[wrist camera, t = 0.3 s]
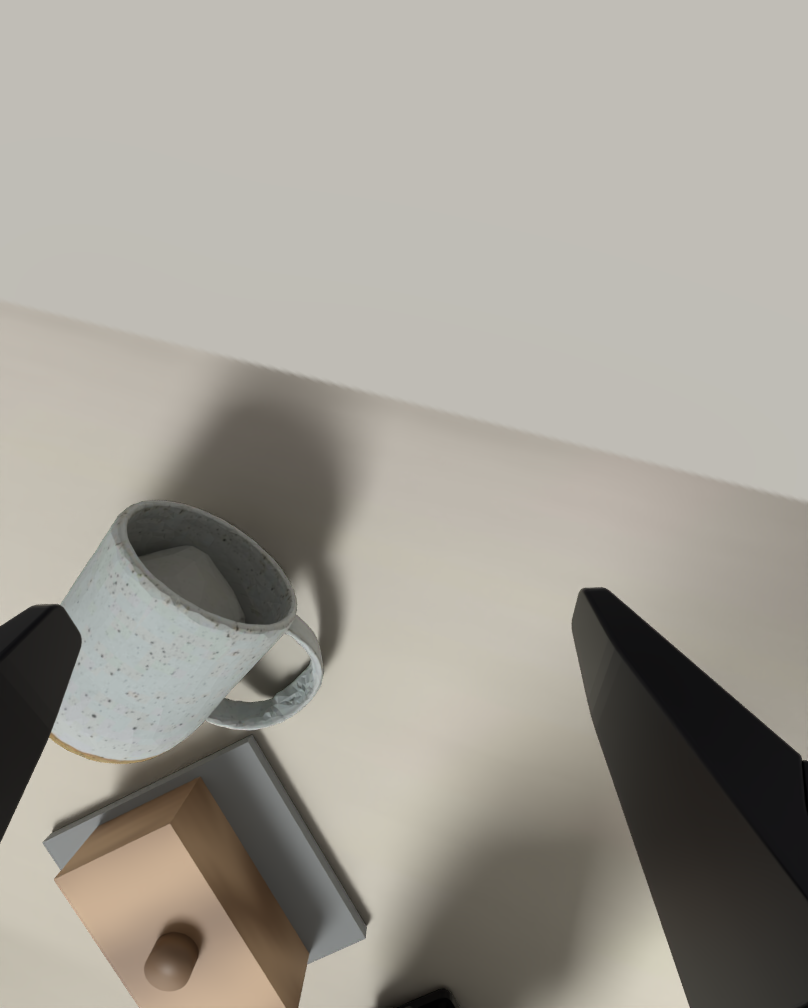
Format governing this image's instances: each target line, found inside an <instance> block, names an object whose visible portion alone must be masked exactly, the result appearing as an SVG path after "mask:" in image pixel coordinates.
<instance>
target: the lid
mask: <svg viewBox="0 0 808 1008" xmlns="http://www.w3.org/2000/svg"><path fill="white" fill-rule="evenodd" d="M54 881H55V882H56V884H57V885H58V887H59V888H60V890H61V891H62V893H63V894H64V896H65V897H66V899H67V900H68V902H69V903H70V905H71V906H72V908H73V909H74V911H75V912H76V914H77V915H78V917H79V918H80V920H81V921H82V923H83V924H84V926H85V927H86V929H87V930H88V932H89V933H90V935H91V936H92V938H93V939H94V941H95V942H96V944H97V945H98V947H99V948H100V950H101V951H102V953H103V954H104V956H105V957H106V959H107V960H108V962H109V963H110V965H111V966H112V968H113V969H114V971H115V972H116V974H117V975H118V977H119V978H120V980H121V981H122V983H123V984H124V986H125V987H126V989H127V990H128V992H129V993H130V995H131V996H132V998H133V999H134V1001H135V1002H136V1004H137V1005H138V1007H139V1008H298V1006H299V1001H300V996H301V992H302V987H303V982H304V977H305V972H306V967H307V963H308V958H309V952H308V951H307V949H306V947H305V946H304V944H303V943H302V941H301V939H300V938H299V936H298V934H297V933H296V931H295V930H294V928H293V926H292V925H291V923H290V921H289V920H288V918H287V917H286V915H285V913H284V912H283V910H282V908H281V907H280V905H279V904H278V902H277V900H276V899H275V897H274V895H273V894H272V892H271V891H270V889H269V887H268V886H267V884H266V882H265V881H264V879H263V877H262V876H261V874H260V873H259V871H258V869H257V868H256V866H255V864H254V863H253V861H252V860H251V858H250V856H249V855H248V853H247V851H246V850H245V848H244V847H243V845H242V843H241V842H240V840H239V838H238V837H237V835H236V834H235V832H234V830H233V829H232V827H231V825H230V824H229V822H228V821H227V819H226V817H225V816H224V814H223V812H222V811H221V809H220V808H219V806H218V804H217V803H216V801H215V799H214V798H213V796H212V795H211V793H210V791H209V790H208V788H207V786H206V785H205V783H204V782H203V780H202V778H201V777H198V778H196V779H194V780H192V781H190V782H188V783H186V784H183V785H181V786H179V787H177V788H175V789H173V790H171V791H169V792H167V793H165V794H163V795H161V796H159V797H157V798H155V799H153V800H151V801H149V802H147V803H145V804H143V805H140V806H138V807H136V808H134V809H132V810H130V811H128V812H126V813H124V814H122V815H120V816H118V817H116V818H114V819H112V820H110V821H108V822H106V823H104V824H102V825H99V826H98V827H97V828H96V829H95V830H94V831H93V833H92V834H91V835H90V836H89V837H88V839H87V840H86V841H85V842H84V843H83V845H82V846H81V847H80V848H79V850H78V851H77V852H76V853H75V854H74V856H73V857H72V858H71V859H70V860H69V862H68V863H67V864H66V865H65V866H64V868H63V869H62V870H61V871H60V873H59V874H58V875H57V876H56V877H55V879H54Z"/></svg>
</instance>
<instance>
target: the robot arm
mask: <svg viewBox="0 0 808 1008" xmlns="http://www.w3.org/2000/svg"><path fill="white" fill-rule="evenodd" d="M572 633H573V638H574V643H575V647H576V652H577V656H578V661H579V665H580V670H581V674H582V679H583V683H584V688H585V692H586V697H587V702H588V706H589V710H590V714H591V718H592V721H593V724H594V727H595V730H596V733H597V736H598V739H599V742H600V745H601V748H602V751H603V754H604V757H605V760H606V763H607V766H608V769H609V771H610V774H611V777H612V780H613V783H614V786H615V789H616V792H617V795H618V798H619V801H620V804H621V807H622V810H623V813H624V816H625V818H626V821H627V824H628V827H629V830H630V833H631V836H632V839H633V842H634V845H635V848H636V851H637V854H638V857H639V860H640V862H641V865H642V868H643V871H644V874H645V877H646V880H647V883H648V886H649V889H650V892H651V895H652V898H653V901H654V904H655V906H656V909H657V912H658V915H659V918H660V921H661V924H662V927H663V930H664V933H665V936H666V939H667V942H668V945H669V948H670V950H671V953H672V956H673V959H674V962H675V965H676V968H677V971H678V974H679V977H680V980H681V983H682V986H683V989H684V992H685V995H686V997H687V1000H688V1003H689V1006H690V1008H808V761H806V760H802V757H801V755H800V754H799V753H797V752H796V751H795V750H794V749H793V748H792V747H790V746H789V745H788V744H787V743H786V742H785V741H784V740H782V739H781V738H780V737H779V736H778V735H777V734H775V733H774V732H773V731H772V730H771V729H770V728H768V727H767V726H766V725H765V724H764V723H763V722H761V721H760V720H759V719H758V718H757V717H756V716H754V715H753V714H752V713H751V712H750V711H749V710H748V709H746V708H745V707H744V706H743V705H742V704H741V703H739V702H738V701H737V700H736V699H735V698H734V697H732V696H731V695H730V694H729V693H728V692H727V691H725V690H724V689H723V688H722V687H721V686H720V685H718V684H717V683H716V682H715V681H714V680H713V679H712V678H710V677H709V676H708V675H707V674H706V673H705V672H703V671H702V670H701V669H700V668H699V667H698V666H696V665H695V664H694V663H693V662H692V661H691V660H689V659H688V658H687V657H686V656H685V655H684V654H683V653H681V652H680V651H679V650H678V649H677V648H676V647H674V646H673V645H672V644H671V643H670V642H669V641H667V640H666V639H665V638H664V637H663V636H662V635H660V634H659V633H658V632H657V631H656V630H655V629H653V628H652V627H651V626H650V625H649V624H648V623H647V622H645V621H644V620H643V619H642V618H641V617H640V616H638V615H637V614H636V613H635V612H634V611H633V610H631V609H630V608H629V607H628V606H627V605H626V604H624V603H623V602H622V601H621V600H620V599H619V598H617V597H616V596H615V595H614V594H613V593H612V592H611V591H609V590H608V589H606V588H603V587H596V588H583V589H581V590H580V592H579V594H578V598H577V602H576V606H575V609H574V613H573V617H572ZM81 645H82V637H81V634H80V632H79V630H78V628H77V627H76V625H75V624H74V622H73V621H72V619H71V618H70V616H69V614H68V613H67V611H66V610H65V609H64V607H62V606H61V605H59V604H40V605H34V606H31V607H29V608H28V609H26V610H25V611H23V612H21V613H20V614H18V615H17V616H15V617H14V618H12V619H11V620H9V621H8V622H6V623H5V624H3V625H1V626H0V842H1V840H2V838H3V836H4V834H5V832H6V829H7V827H8V825H9V823H10V821H11V819H12V816H13V814H14V812H15V810H16V808H17V806H18V803H19V801H20V799H21V797H22V795H23V793H24V791H25V788H26V786H27V784H28V782H29V780H30V778H31V775H32V773H33V771H34V769H35V767H36V765H37V763H38V760H39V758H40V756H41V754H42V752H43V750H44V747H45V745H46V743H47V741H48V738H49V736H50V734H51V731H52V729H53V726H54V723H55V721H56V718H57V716H58V713H59V710H60V707H61V704H62V701H63V698H64V695H65V693H66V690H67V687H68V684H69V681H70V678H71V675H72V672H73V670H74V667H75V664H76V661H77V658H78V655H79V652H80V649H81ZM397 1008H460V1007H459V1005H458V1003H457V1002H456V1000H455V998H454V997H453V995H452V993H451V992H450V991H448V990H446V989H440V990H437V991H435V992H432V993H430V994H428V995H425V996H423V997H421V998H418V999H416V1000H414V1001H411V1002H409V1003H407V1004H404V1005H402V1006H400V1007H397Z"/></svg>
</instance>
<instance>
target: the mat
mask: <svg viewBox="0 0 808 1008" xmlns="http://www.w3.org/2000/svg"><path fill="white" fill-rule="evenodd" d="M198 777H201V778H202V780H203V782H204V783H205V785H206V786H207V788H208V790H209V791H210V793H211V795H212V796H213V798H214V799H215V801H216V803H217V804H218V806H219V808H220V809H221V811H222V812H223V814H224V816H225V817H226V819H227V821H228V822H229V824H230V825H231V827H232V829H233V830H234V832H235V834H236V835H237V837H238V838H239V840H240V842H241V843H242V845H243V847H244V848H245V850H246V851H247V853H248V855H249V856H250V858H251V860H252V861H253V863H254V864H255V866H256V868H257V869H258V871H259V873H260V874H261V876H262V877H263V879H264V881H265V882H266V884H267V886H268V887H269V889H270V891H271V892H272V894H273V895H274V897H275V899H276V900H277V902H278V904H279V905H280V907H281V908H282V910H283V912H284V913H285V915H286V917H287V918H288V920H289V921H290V923H291V925H292V926H293V928H294V930H295V931H296V933H297V934H298V936H299V938H300V939H301V941H302V943H303V944H304V946H305V947H306V949H307V951H308V952H309V958H308V963H307V964H309V963H312V962H314V961H316V960H318V959H321V958H323V957H325V956H327V955H330V954H332V953H334V952H336V951H339V950H341V949H343V948H345V947H348V946H350V945H352V944H354V943H357V942H359V941H361V940H363V939H366V929H367V927H366V925H365V923H364V922H363V920H362V918H361V917H360V915H359V913H358V911H357V910H356V908H355V906H354V905H353V903H352V901H351V900H350V898H349V896H348V895H347V893H346V891H345V890H344V888H343V886H342V885H341V883H340V881H339V880H338V878H337V876H336V875H335V873H334V871H333V870H332V868H331V866H330V864H329V863H328V861H327V859H326V858H325V856H324V854H323V853H322V851H321V849H320V848H319V846H318V844H317V843H316V841H315V839H314V838H313V836H312V834H311V833H310V831H309V829H308V828H307V826H306V824H305V823H304V821H303V819H302V817H301V816H300V814H299V812H298V811H297V809H296V807H295V806H294V804H293V802H292V801H291V799H290V797H289V796H288V794H287V792H286V791H285V789H284V787H283V786H282V784H281V782H280V781H279V779H278V777H277V776H276V774H275V772H274V771H273V769H272V767H271V765H270V764H269V762H268V760H267V759H266V757H265V755H264V754H263V752H262V750H261V749H260V747H259V745H258V744H257V742H256V740H255V739H254V737H253V735H250V736H248V737H246V738H244V739H242V740H240V741H238V742H236V743H234V744H232V745H230V746H228V747H226V748H224V749H222V750H220V751H218V752H216V753H214V754H212V755H210V756H207V757H205V758H203V759H201V760H199V761H197V762H195V763H193V764H191V765H189V766H187V767H185V768H183V769H181V770H179V771H177V772H175V773H173V774H171V775H169V776H167V777H165V778H163V779H161V780H159V781H157V782H155V783H153V784H150V785H148V786H146V787H144V788H142V789H140V790H138V791H136V792H134V793H132V794H130V795H128V796H126V797H124V798H122V799H120V800H118V801H116V802H114V803H112V804H110V805H108V806H106V807H104V808H102V809H100V810H98V811H95V812H93V813H91V814H89V815H87V816H85V817H83V818H81V819H79V820H77V821H75V822H73V823H71V824H69V825H67V826H65V827H63V828H61V829H59V830H57V831H55V832H53V833H51V834H50V835H49V836H48V837H47V838H46V839H45V840H44V842H43V844H44V846H45V847H46V849H47V850H48V852H49V853H50V855H51V856H52V858H53V859H54V861H55V862H56V864H57V865H58V867H59V868H60V870H62V869H63V868H64V866H65V865H66V864H67V863H68V862H69V860H70V859H71V858H72V857H73V856H74V854H75V853H76V852H77V851H78V850H79V848H80V847H81V846H82V845H83V843H84V842H85V841H86V840H87V839H88V837H89V836H90V835H91V834H92V833H93V831H94V830H95V829H96V828H97V827H98V826H99V825H102V824H104V823H106V822H108V821H110V820H112V819H114V818H116V817H118V816H120V815H122V814H124V813H126V812H128V811H130V810H132V809H134V808H136V807H138V806H140V805H143V804H145V803H147V802H149V801H151V800H153V799H155V798H157V797H159V796H161V795H163V794H165V793H167V792H169V791H171V790H173V789H175V788H177V787H179V786H181V785H183V784H186V783H188V782H190V781H192V780H194V779H196V778H198Z"/></svg>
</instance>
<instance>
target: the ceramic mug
mask: <svg viewBox="0 0 808 1008" xmlns="http://www.w3.org/2000/svg"><path fill="white" fill-rule="evenodd" d="M61 606H62V607H64V609H65V610H66V611H67V613H68V614H69V616H70V618H71V619H72V621H73V622H74V624H75V625H76V627H77V628H78V630H79V632H80V634H81V637H82V645H81V649H80V652H79V655H78V658H77V661H76V664H75V667H74V670H73V672H72V675H71V678H70V681H69V684H68V687H67V690H66V693H65V695H64V698H63V701H62V704H61V707H60V710H59V713H58V716H57V718H56V721H55V723H54V726H53V729H52V731H51V734H50V736H49V738H50V739H52V740H53V741H54V742H55V743H57V744H58V745H60V746H61V747H63V748H64V749H66V750H68V751H70V752H72V753H75V754H77V755H80V756H82V757H85V758H87V759H90V760H94V761H97V762H103V763H114V764H128V763H136V762H142V761H146V760H149V759H152V758H154V757H157V756H159V755H161V754H163V753H165V752H167V751H168V750H170V749H171V748H173V747H174V746H176V745H177V744H179V743H180V742H181V741H183V740H184V739H185V738H186V737H188V736H189V735H190V734H192V733H193V732H194V731H195V730H196V729H197V728H198V727H199V726H200V725H201V724H202V723H203V722H204V721H207V722H209V723H211V724H214V725H217V726H220V727H226V728H229V729H236V730H257V729H261V728H266V727H270V726H273V725H275V724H278V723H281V722H283V721H285V720H287V719H288V718H290V717H292V716H293V715H294V714H296V713H298V712H299V711H300V710H301V709H303V708H304V707H305V706H306V705H307V704H308V703H309V702H310V701H311V699H312V698H313V697H314V696H315V694H316V693H317V691H318V690H319V688H320V686H321V683H322V679H323V674H324V670H323V661H322V655H321V649H320V646H319V642H318V640H317V637H316V636H315V634H314V632H313V631H312V630H311V628H310V627H309V626H308V625H307V624H306V623H305V622H304V621H303V620H302V619H301V618H300V617H299V616H297V615H296V611H297V600H296V596H295V592H294V589H293V588H292V586H291V584H290V581H289V579H288V578H287V577H286V575H285V574H284V572H283V570H282V569H281V567H280V566H279V565H278V564H277V562H276V561H275V560H274V559H273V558H272V557H271V556H270V555H269V554H268V553H267V552H266V551H264V550H263V549H262V548H261V547H260V546H259V545H258V544H257V543H256V542H255V541H254V540H252V539H251V538H250V537H248V536H247V535H246V534H244V533H243V532H242V531H240V530H239V529H237V528H236V527H235V526H233V525H230V524H229V523H228V522H226V521H225V520H223V519H221V518H219V517H217V516H214V515H212V514H210V513H208V512H206V511H204V510H201V509H198V508H196V507H193V506H190V505H187V504H184V503H177V502H171V501H163V500H151V501H142V502H139V503H137V504H133V505H131V506H130V507H128V508H126V509H125V510H124V511H123V512H122V513H121V514H119V516H118V517H117V519H116V520H115V521H114V523H113V525H112V526H111V528H110V529H109V531H108V533H107V534H106V536H105V537H104V539H103V540H102V542H101V543H100V545H99V547H98V548H97V550H96V551H95V553H94V554H93V556H92V557H91V558H90V560H89V561H88V563H87V564H86V566H85V567H84V569H83V570H82V572H81V574H80V575H79V576H78V578H77V580H76V581H75V583H74V584H73V586H72V587H71V589H70V591H69V592H68V594H67V595H66V597H65V598H64V600H63V601H62V603H61ZM283 634H287V635H290V636H291V637H293V638H294V639H295V640H296V641H297V643H298V644H300V645H301V646H302V647H303V648H304V649H305V651H306V652H307V653H308V654H309V656H310V658H311V660H310V664H309V666H308V667H307V668H306V669H305V670H304V671H303V672H302V673H301V674H300V675H299V676H298V677H297V678H296V679H295V680H294V681H293V682H292V683H291V684H290V685H289V686H287V687H286V688H285V689H284V690H282V691H280V692H278V693H276V695H275V696H274V698H272V699H269V700H265V701H258V702H243V701H232V700H229V699H226V698H225V696H226V695H227V694H228V693H229V692H230V690H231V689H232V688H233V687H234V686H235V685H236V684H237V683H238V682H239V681H240V680H241V679H242V678H243V677H244V676H245V675H246V674H247V673H248V672H249V671H250V670H251V669H252V667H253V666H254V665H255V664H256V663H257V662H258V661H259V660H260V659H261V658H262V656H263V655H264V654H265V653H266V652H267V651H268V650H269V649H270V648H271V647H272V646H273V645H274V644H275V643H276V642H277V641H278V640H279V639H280V638H281V636H282V635H283Z"/></svg>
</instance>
